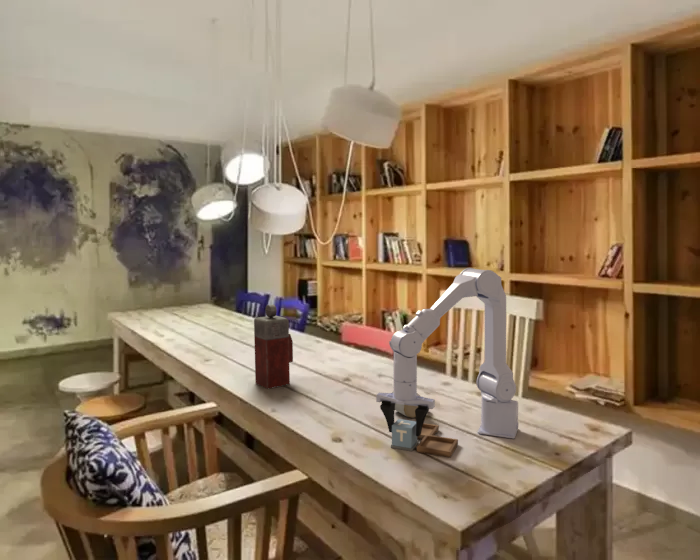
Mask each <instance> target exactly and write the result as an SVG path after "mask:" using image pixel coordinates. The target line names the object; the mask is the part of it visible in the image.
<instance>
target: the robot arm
mask: <svg viewBox="0 0 700 560" xmlns="http://www.w3.org/2000/svg"><path fill="white" fill-rule="evenodd" d="M470 297H476V298H478V299H479V300H480V301H481V302H482V303H483V304H484V362H483V363H481V364H480V366H479V369H478V370H479V373H478V375H477V378H476V382H475V383H476V388H477V389H478V390H479V391H480V396H481V414H480V417H481V418H480V421H481V422H480V425H479V427H478V430H477V434H481V435H485V436H492V437H493V436H495V437H499V438H507V439H515V438H516V436H517V433H518V430H519V401H518V400H514V399H513V398H514V397H515V394H516V391H517V385H516V382H515V380H514V372H513V370H512V369H511V368H510V366H509V365H508V363H507V295H506V292H505V290H504V288H503V285H502V277H501V276H500V275H498V273H496V272H495V271H493V270H491V269H479V268H473V267H467V268H465V269H463V270H461V272H460V273H459V274H457V275H456V276H455V277H454V280H453V282H452V283H451V285H450V286H449V287H448V288H447V289H446V290H445V292H443V293H442V295H441V296H440V297H439V298H438V299H437V300H436V301H435V302H434V304H432V306H431V307H430V308H423V309H422V310H417V311H416V312H415V317H414V318H412V319H411V320H410V321H409V322H408V323H407V324H404V326H403V327H402V329H400V330H397V331H396V332H395V333H393V334H392V336H391V339H390V341H388V343H389V347H390V349H391V350H392V352H393V391H394V393H392V392H380V391H379V392H378V393H376V395H375V396H376V397H375V398H376V403H381V404H380V406H379V408H380V410H381V412H382V414H383V416H384V418H385V422H386V424H387V428H388V432H389V433H392V425H393V424H394V423H395V411H396V410H395V403H396V404H402V405H411V406H418V408H417V409H416V410H415V415H416V417H415V421H416V436H420V435H421V431H422V426H423V423H424V422H425V419H426V417H427V415H428V413H429V411H430V410H433V409H434V408H435V403H436V402H435V398H430V397H429V398H428V397H425V396H421V395H420V396H418V395H417V393H418V390H417V389H418V387H417V386H418V385H417V384H418V377H417V376H418V368H417V366H418V359H417V357H418V354H419V353H420V352H421V351H422V347H423V343H425V341H426V340H427V339H428V338H429V337H430V335H432V333H434V331H436V330H437V329H438V327H440V326H441V325H440V324H441V318H442V317H443V316H444V315H445V314H447V313H448V311H450V310H451V309H452V308H453V307H455V306H456V305H457V303H459V302H461V300H462V299H465V298H470Z"/></svg>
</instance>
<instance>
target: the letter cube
mask: <svg viewBox="0 0 700 560" xmlns="http://www.w3.org/2000/svg"><path fill="white" fill-rule="evenodd" d="M416 442H417V436H416V420H408V419H401V418H398V419H397V420H396V421H394V424H393V425H392V432H391V445H394V446H400V447H406V448H412V447H413V446H414V444H415V443H416Z"/></svg>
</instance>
